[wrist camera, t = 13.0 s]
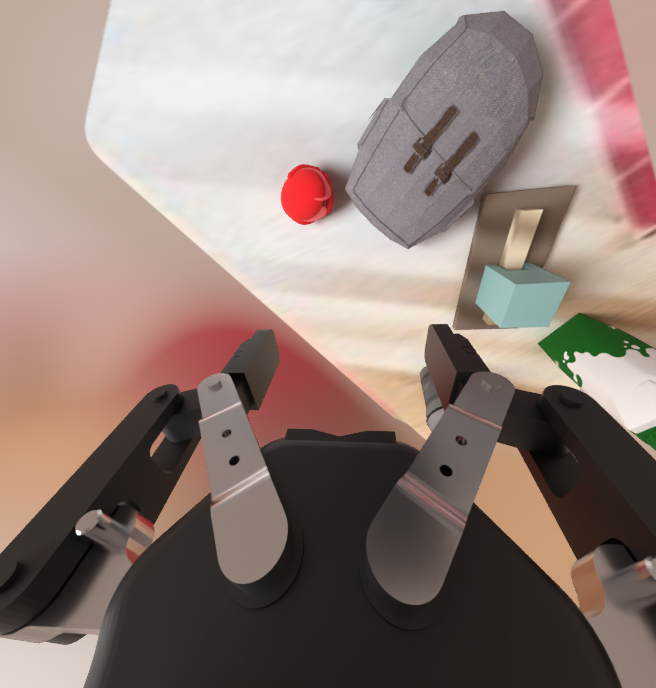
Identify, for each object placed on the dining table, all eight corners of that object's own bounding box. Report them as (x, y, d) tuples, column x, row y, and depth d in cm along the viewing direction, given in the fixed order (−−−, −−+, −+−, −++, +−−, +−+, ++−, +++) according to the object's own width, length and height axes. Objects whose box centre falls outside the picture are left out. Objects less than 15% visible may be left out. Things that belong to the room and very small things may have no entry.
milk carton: (529, 344, 43) (637, 446, 26) (581, 305, 38) (754, 399, 21) (562, 365, 44) (683, 472, 28) (616, 329, 39) (802, 435, 23)
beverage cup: (454, 379, 49) (504, 479, 32) (419, 390, 51) (448, 487, 35) (445, 354, 45) (495, 451, 29) (408, 366, 48) (434, 462, 32)
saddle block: (485, 265, 35) (515, 284, 28) (529, 262, 34) (570, 281, 27) (475, 302, 38) (500, 328, 31) (514, 301, 37) (548, 326, 31)
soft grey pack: (407, 255, 36) (546, 111, 26) (419, 272, 29) (613, 86, 19) (330, 182, 32) (461, -22, 22) (323, 183, 25) (509, -114, 15)
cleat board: (482, 194, 31) (494, 195, 28) (568, 185, 30) (589, 185, 27) (452, 326, 42) (458, 336, 39) (514, 324, 41) (524, 334, 38)
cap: (333, 150, 27) (283, 151, 25) (343, 206, 29) (296, 210, 27) (311, 184, 35) (271, 186, 33) (320, 227, 36) (282, 231, 34)
